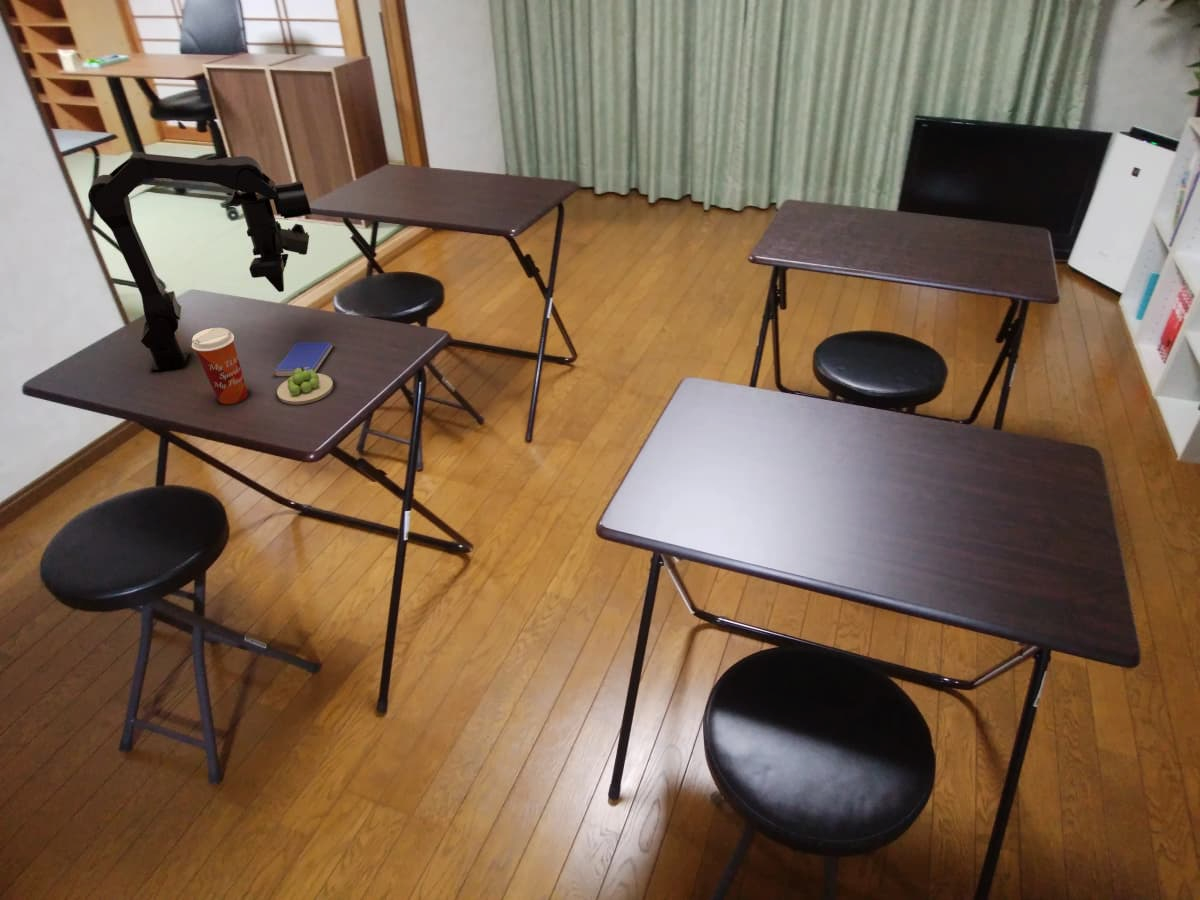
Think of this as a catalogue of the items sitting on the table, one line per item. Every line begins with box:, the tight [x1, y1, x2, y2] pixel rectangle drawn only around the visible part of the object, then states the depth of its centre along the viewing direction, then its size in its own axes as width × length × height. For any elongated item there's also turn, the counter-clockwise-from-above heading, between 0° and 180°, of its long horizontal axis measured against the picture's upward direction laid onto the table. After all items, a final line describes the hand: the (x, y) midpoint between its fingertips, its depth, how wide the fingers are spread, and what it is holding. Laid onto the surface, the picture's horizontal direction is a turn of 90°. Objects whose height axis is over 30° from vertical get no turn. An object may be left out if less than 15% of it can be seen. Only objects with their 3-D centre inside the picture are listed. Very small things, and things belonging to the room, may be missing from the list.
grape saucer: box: [276, 372, 334, 406], centre depth 156 cm, size 11×11×1 cm
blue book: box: [274, 341, 333, 377], centre depth 166 cm, size 2×8×12 cm
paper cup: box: [191, 327, 248, 405], centre depth 151 cm, size 8×8×14 cm
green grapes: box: [287, 366, 319, 395], centre depth 155 cm, size 8×6×5 cm
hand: (281, 291), depth 168 cm, fingers closed
